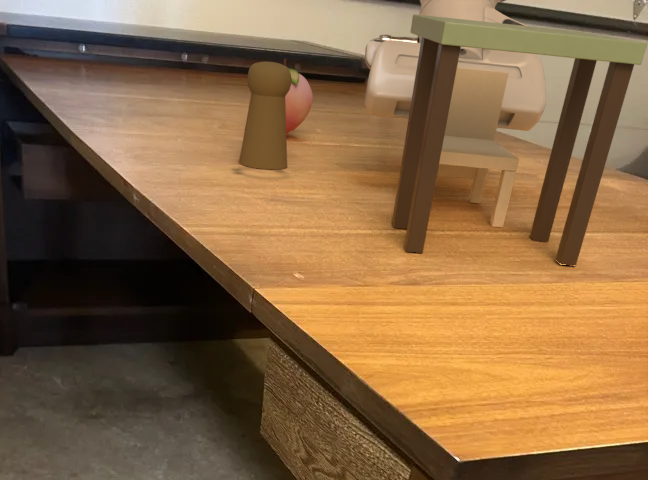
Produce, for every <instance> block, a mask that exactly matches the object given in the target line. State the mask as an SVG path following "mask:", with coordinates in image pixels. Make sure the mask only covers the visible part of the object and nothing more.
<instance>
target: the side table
mask: <svg viewBox="0 0 648 480" xmlns="http://www.w3.org/2000/svg"><path fill="white" fill-rule="evenodd" d="M411 18H412V19H411V26H410V34H412V35H415V36H417V35H418V36H420V37H422V39H421V45H420V51H419V57H418V64H417V70H416V76H415V82H414V88H413V95H412V101H411V107H410V113H409V119H407V127H406V132H405V139H404V145H403V150H402V156H401V157H402V158H401V163H400V164H401V165H400V169H399V175H398V182H397V189H396V194H395V201H394V207H393V213H392V219H391V225H392V227H393V228H394V229H402V230H406V233H405V237H404V238H405V239H404V245H403V248H404V250H405V252H406V253H412V252H416V253H415V254H422V253H423V252H424V247H425V244H426V243H425V242H426V236H427V233H428V232H427V231H428V227H429V221H430V216H431V215H430V214H431V210H432V204H433V199H434V193H435V187H436V183H437V178H438V175H437V173H438V167H439V162H440V156H441V151H442V146H443V140H444V135H445V129H446V124H447V119H448V113H449V108H450V102H451V97H452V92H453V86H454V81H455V75H456V70H457V65H458V59H459V54H460V48H461V46H462V47H471V48H481V49H491V50H500V51H510V52H520V53H529V54H537V55H538V56H539V55H540V56H549V57H558V58H559V57H560V58H570V59H574V61H573V65H572V68H571V72H570V77H569V80H568V85H567V88H566V92H565V97H564V99H563V104H562V108H561V111H560V116H559V120H558V123H557V127H556V131H555V134H554V135H555V136H554V140H553V143H552V147H551V151H550V155H549V159H548V163H547V166H546V171H545V175H544V179H543V183H542V187H541V190H540V194H539V199H538V203H537V205H536V206H537V207H536V210H535V214H534V218H533V222H532V226H531V228H530V229H531V230H530V233H529V238H531V239H532V240H533V241H534V240H535V241H536V242H545V241H548V242H550V237H551V233H552V229H553V225H554V222H555V218H556V214H557V210H558V207H559V203H560V200H561V195H562V192H563V189H564V185H565V181H566V178H567V173H568V170H569V166H570V162H571V159H572V155H573V151H574V148H575V144H576V140H577V136H578V133H579V128H580V125H581V121H582V118H583V114H584V110H585V106H586V102H587V99H588V95H589V91H590V87H591V84H592V80H593V76H594V72H595V69H596V66H597V62H609V63H608V67H607V70H606V75H605V78H604V81H603V84H602V85H603V86H602V89H601V92H600V96H599V100H598V104H597V108H596V110H595V114H594V117H593V121H592V125H591V129H590V132H589V136H588V140H587V143H586V146H585V151H584V154H583V158H582V161H581V164H580V168H579V172H578V176H577V179H576V183H575V187H574V190H573V194H572V198H571V201H570V205H569V208H568V211H567V215H566V220H565V223H564V226H563V229H562V233H561V238H560V241H559V244H558V248H557V252H556V255H555V260H557V261H558V262H559V263H561V264H566V265H576V266H577V263H578V260H579V256H580V253H581V249H582V246H583V242H584V240H585V235H586V231H587V228H588V225H589V221H590V218H591V216H592V215H591V214H592V212H593V208H594V204H595V200H596V199H597V194H598V190H599V187H600V184H601V180H602V176H603V174H604V170H605V168H606V167H605V166H606V163H607V160H608V156H609V152H610V150H611V146H612V143H613V140H614V136H615V133H616V129H617V126H618V122H619V118H620V115H621V112H622V108H623V105H624V101H625V98H626V94H627V91H628V88H629V84H630V81H631V77H632V73H633V70H634V67H635V65H636V66H637V65H638V66H641V65H642V64H643V60H644V57H645V54H646V50H647V46H648V43H647V42H643V41H637V40H632V39H626V38H620V37H613V36H609V35H602V34H597V33H591V32H585V31H578V30H567V29H557V28H548V27H539V26H530V25H527V26H521V25H512V24H502V23H493V22H483V21H474V20H464V19H455V18H445V17H436V16H426V15H419V14H417V13H413V14H412V17H411ZM535 241H534V242H535ZM555 260H554V261H555Z"/></svg>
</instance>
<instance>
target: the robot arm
mask: <svg viewBox="0 0 648 480" xmlns="http://www.w3.org/2000/svg"><path fill="white" fill-rule="evenodd" d="M506 1H507V0H419V3H420V10H419V13H418V15H426V16H436V17H445V18H455V19H464V20H474V21H483V22H493V23H502V24H512V25H521V26H528V24H525V23H522V22H520V21H518V20H515V19H513V18H511V17H509V16H507V15H505V14H503V13H502V12H500V11H498V10H497V9H496V6H497V5H498V3H499V2H500V3H503V2H506ZM421 39H422V37H420V36H418V35H416V37H411V36H394V35H393V36H392V35H391V34H380V35H379V37H376V38H375V37H374V38H372V39H371V40H369V41H368V42H367V44H366V45H365V49H364V51H365V53H364V61H365V65H366V67H367V68H368V69H369V74H368V79H367V82H366V88H365V93H364V108H365V110H367V112H368V113H369V114H370V115H372V116H376V117H377V116H378V117H388V118H397V119H407V120H408V119H409V113H410V107H411V101H412V95H413V88H414V82H415V76H416V70H417V64H418V57H419V51H420V45H421ZM457 67H464V68H474V69H484V70H494V71H503V72H508V73H509V74H508V79H507V84H506V88H505V93H504V97H503V102H502V107H501V111H500V116H499V120H498V125H497V129H506V130H514V131H523V132H529V131H530V130H532V129H533V128H534V127H535V126H536V125H537V123H538V122H540V119H541V117H542V116H543V114H544V111H545V108H546V106H547V91H546V90H547V89H546V78H545V70H544V66H543V63H542V60H541V57H540V56H539V54H529V53H520V52H510V51H500V50H491V49H481V48H471V47H462V46H461V48H460V54H459V59H458V65H457Z"/></svg>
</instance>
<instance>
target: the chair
mask: <svg viewBox="0 0 648 480" xmlns="http://www.w3.org/2000/svg"><path fill="white" fill-rule="evenodd" d="M508 74H509V73H508V72H503V71H494V70H484V69H474V68H464V67H457V70H456V75H455V81H454V86H453V92H452V97H451V102H450V108H449V113H448V119H447V124H446V129H445V135H444V140H443V146H442V151H441V156H440V162H439V167H438V173H437V176H440V177H449V178H451V177H452V178H460V179H461V178H462V179H472V183H471V188H470V192H469V196H468V201H469V203H471V204H479V205H481V204H482V200H483V196H484V191H485V186H486V182H487V177H488V173H489V170H496V171H501V172H500V176H499V181H498V184H497V188H496V194H495V197H494V202H493V207H492V210H491V216H490V220H489V225H490V226H491V227H492V228H500V229H501V228H502V229H503V228H504V225H505V221H506V217H507V212H508V209H509V204H510V200H511V196H512V192H513V188H514V183H515V179H516V175H517V170H518V167H519V163H520V158H518V157H517V156H516V155H515V154H513V153H512V152H510V151H509V150H508V149H507V148H506V147H504V146H502V145H501V144H500V143H498V142H497V141H496V140H495V138H496V134H497V129H498V128H497V125H498V120H499V116H500V111H501V107H502V102H503V97H504V93H505V88H506V84H507V79H508Z"/></svg>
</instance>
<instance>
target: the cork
mask: <svg viewBox="0 0 648 480" xmlns="http://www.w3.org/2000/svg"><path fill="white" fill-rule="evenodd" d="M289 69H290V68H289V67H287V65H286V66H284V64H282V63H278V62H275V61H257V62H254V63H253V64H251V65H250V67H249V69H248V73H247V87H248V89H249V91H250V97H249V103H248V109H247V114H246V115H247V116H246V119H245V121H246V122H245V126H244V133H243V138H242V143H241V149H240V154H239V159H238V163H239V164H240V165H242V166H245V167H248V168H253V169H260V170H262V169H263V170H284V169H287V168H288V148H287V147H288V144H287V143H288V142H287V134H286V105H285V96H286V95H287V93H288V92H289V90H290V87H291V80H292V79H291V73H290V71H289Z"/></svg>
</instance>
